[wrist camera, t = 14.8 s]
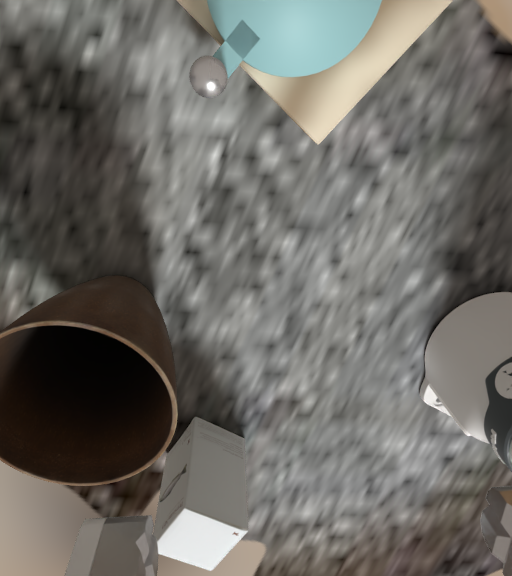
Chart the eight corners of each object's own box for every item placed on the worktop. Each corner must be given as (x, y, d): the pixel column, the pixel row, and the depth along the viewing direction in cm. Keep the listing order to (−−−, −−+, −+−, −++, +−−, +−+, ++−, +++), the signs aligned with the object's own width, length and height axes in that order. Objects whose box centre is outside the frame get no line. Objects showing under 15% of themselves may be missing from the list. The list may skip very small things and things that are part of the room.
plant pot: (221, 323, 47) (218, 430, 33) (113, 389, 50) (67, 513, 36) (129, 211, 41) (77, 280, 27) (14, 292, 44) (-89, 393, 30)
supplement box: (194, 413, 52) (185, 506, 41) (246, 437, 54) (251, 532, 43) (164, 453, 55) (147, 552, 43) (215, 475, 57) (212, 574, 45)
